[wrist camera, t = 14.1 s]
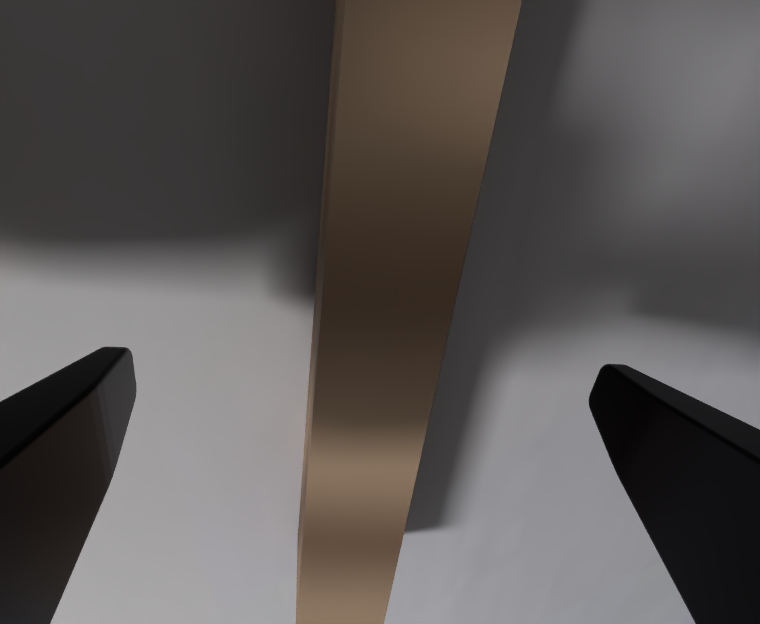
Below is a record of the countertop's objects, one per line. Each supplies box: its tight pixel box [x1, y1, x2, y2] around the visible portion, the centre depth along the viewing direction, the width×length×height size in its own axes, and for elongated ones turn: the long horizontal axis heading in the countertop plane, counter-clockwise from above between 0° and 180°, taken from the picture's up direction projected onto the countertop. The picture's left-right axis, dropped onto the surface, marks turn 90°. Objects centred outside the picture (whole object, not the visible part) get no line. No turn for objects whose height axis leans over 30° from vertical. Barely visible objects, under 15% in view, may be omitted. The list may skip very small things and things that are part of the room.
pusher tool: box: [296, 0, 522, 624], centre depth 9 cm, size 21×7×4 cm, turn 173°
